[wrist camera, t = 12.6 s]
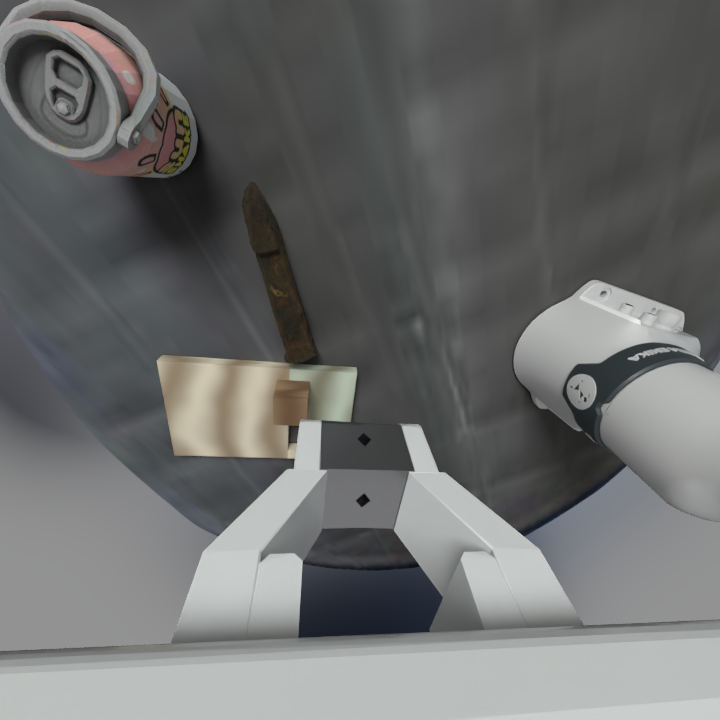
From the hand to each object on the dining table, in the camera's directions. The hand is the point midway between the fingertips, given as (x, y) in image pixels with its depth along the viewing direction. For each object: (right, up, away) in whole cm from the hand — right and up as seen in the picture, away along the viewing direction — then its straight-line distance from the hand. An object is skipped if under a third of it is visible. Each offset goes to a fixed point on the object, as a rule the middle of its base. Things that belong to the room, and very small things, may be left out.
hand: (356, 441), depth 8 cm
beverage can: (-18, +24, +21) cm, 37 cm away
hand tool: (-9, +11, +29) cm, 32 cm away
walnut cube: (-9, -2, +34) cm, 35 cm away
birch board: (-13, -5, +37) cm, 39 cm away
